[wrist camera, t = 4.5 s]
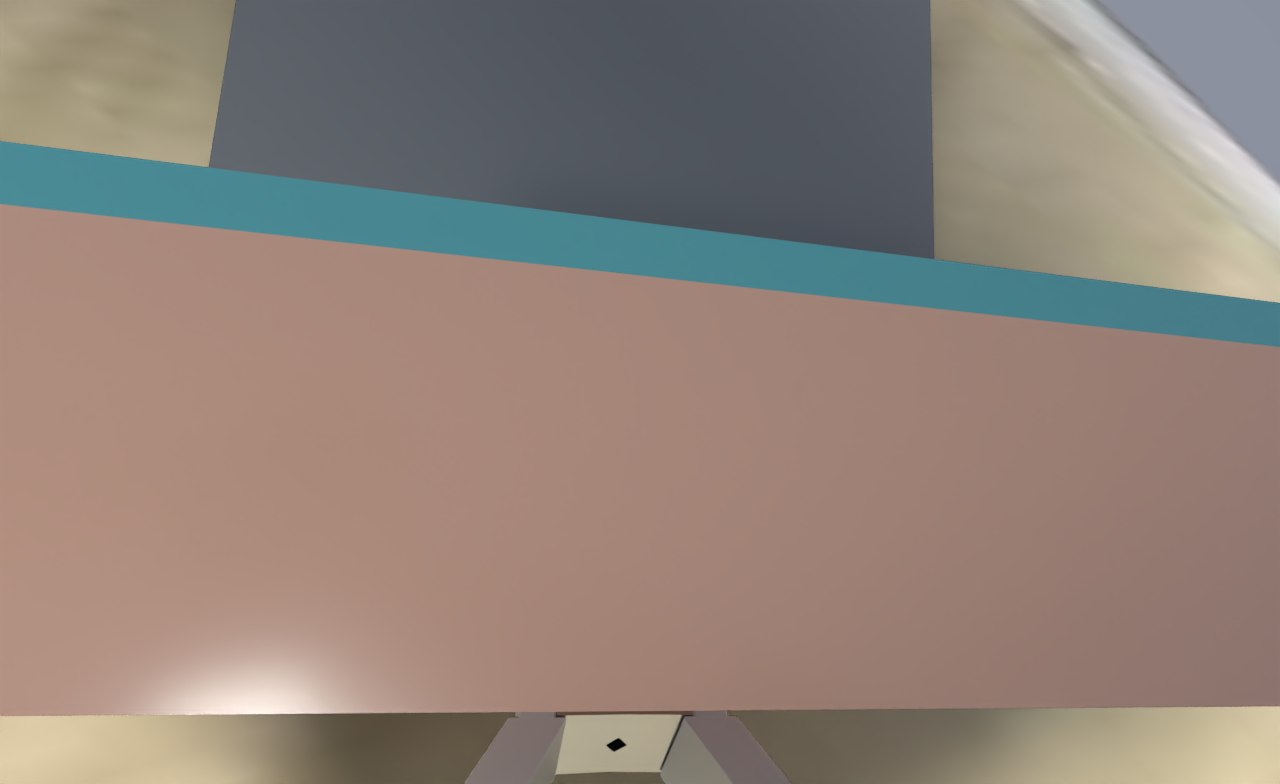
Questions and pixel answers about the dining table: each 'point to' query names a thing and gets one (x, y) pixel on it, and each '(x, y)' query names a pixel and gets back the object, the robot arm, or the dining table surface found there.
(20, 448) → the tile
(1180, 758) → the dining table surface
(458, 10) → the mat
